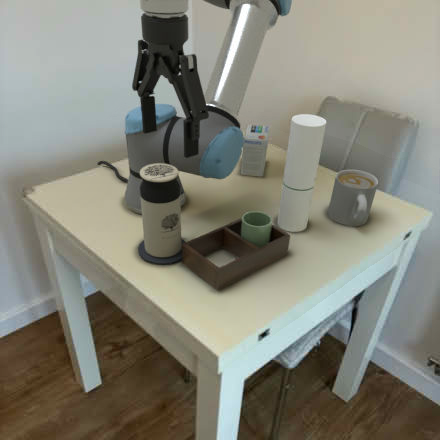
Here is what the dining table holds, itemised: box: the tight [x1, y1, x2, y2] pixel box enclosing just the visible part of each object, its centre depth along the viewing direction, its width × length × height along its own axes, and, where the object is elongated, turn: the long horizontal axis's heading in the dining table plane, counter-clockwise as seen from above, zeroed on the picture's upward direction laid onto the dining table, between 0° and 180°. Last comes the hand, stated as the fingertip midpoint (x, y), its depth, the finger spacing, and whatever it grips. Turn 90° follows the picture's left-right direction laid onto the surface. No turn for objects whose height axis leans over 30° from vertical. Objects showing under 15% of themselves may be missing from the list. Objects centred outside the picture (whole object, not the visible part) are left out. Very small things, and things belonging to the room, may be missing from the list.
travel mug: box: [140, 163, 182, 257], centre depth 93 cm, size 8×8×18 cm
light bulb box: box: [240, 124, 270, 178], centre depth 130 cm, size 11×7×11 cm, turn 172°
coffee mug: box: [327, 169, 379, 227], centre depth 110 cm, size 13×10×10 cm
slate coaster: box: [137, 237, 187, 266], centre depth 100 cm, size 11×11×1 cm
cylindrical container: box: [277, 113, 327, 233], centre depth 102 cm, size 7×7×25 cm
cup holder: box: [181, 217, 291, 292], centre depth 97 cm, size 12×20×5 cm, turn 131°
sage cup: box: [240, 210, 273, 248], centre depth 99 cm, size 6×6×8 cm
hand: (169, 143), depth 86 cm, fingers open, 13 cm apart
